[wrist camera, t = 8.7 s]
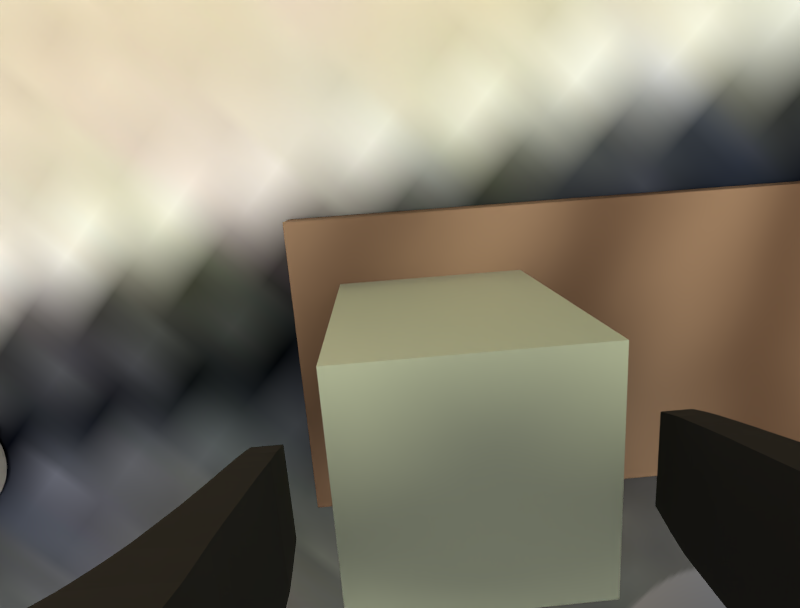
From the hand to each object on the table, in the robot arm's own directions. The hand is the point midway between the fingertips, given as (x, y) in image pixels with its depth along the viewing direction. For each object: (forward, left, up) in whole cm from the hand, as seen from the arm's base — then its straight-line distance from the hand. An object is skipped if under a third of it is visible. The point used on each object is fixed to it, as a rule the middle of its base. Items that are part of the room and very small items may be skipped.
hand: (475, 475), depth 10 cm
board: (-4, 0, -7) cm, 8 cm away
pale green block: (0, 0, -6) cm, 6 cm away
